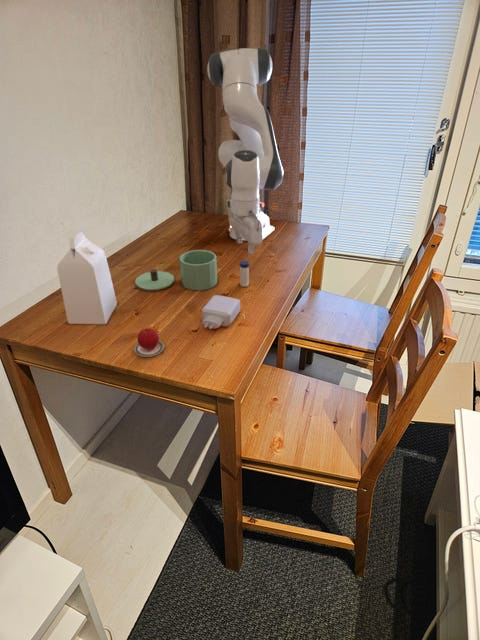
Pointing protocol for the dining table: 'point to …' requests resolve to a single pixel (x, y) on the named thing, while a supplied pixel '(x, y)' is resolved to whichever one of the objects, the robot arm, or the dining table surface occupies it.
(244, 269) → the glue stick
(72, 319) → the milk
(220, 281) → the dining table surface
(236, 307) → the charger
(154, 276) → the tin lid
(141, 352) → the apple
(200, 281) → the tin
